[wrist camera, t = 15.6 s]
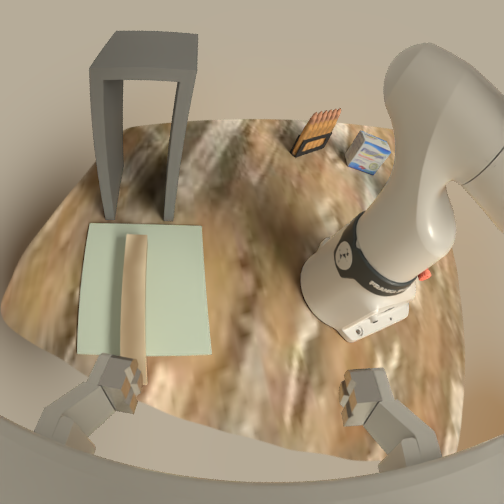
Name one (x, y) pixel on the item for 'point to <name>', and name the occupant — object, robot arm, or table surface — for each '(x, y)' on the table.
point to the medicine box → (367, 153)
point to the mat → (157, 290)
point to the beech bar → (134, 302)
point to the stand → (111, 102)
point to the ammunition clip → (315, 133)
